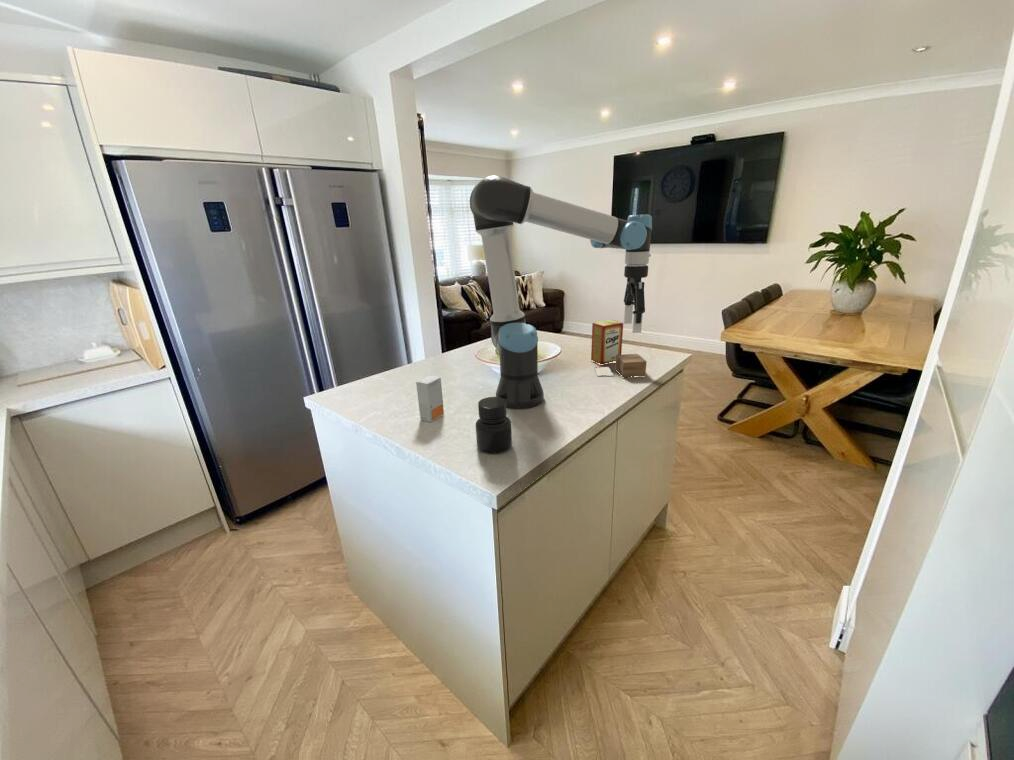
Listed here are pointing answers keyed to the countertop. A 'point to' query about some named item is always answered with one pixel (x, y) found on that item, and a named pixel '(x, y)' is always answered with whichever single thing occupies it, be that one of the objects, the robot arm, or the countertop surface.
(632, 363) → the walnut block
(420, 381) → the skincare box
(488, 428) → the ink bottle
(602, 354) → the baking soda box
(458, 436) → the countertop surface
